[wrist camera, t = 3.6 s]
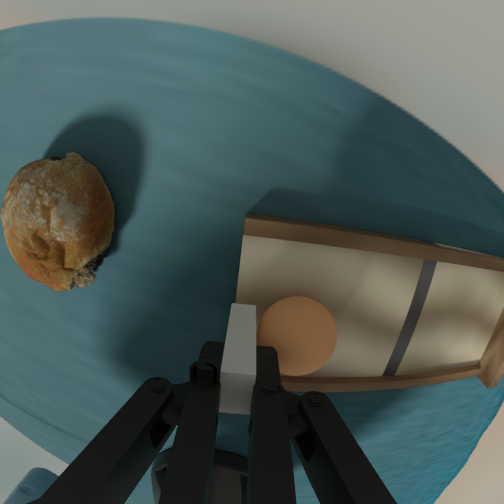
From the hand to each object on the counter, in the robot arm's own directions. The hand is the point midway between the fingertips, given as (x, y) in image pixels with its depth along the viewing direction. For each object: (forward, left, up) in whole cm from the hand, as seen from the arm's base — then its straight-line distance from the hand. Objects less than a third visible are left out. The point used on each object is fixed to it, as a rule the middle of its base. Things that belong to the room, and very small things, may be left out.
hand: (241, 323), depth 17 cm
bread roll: (+5, +15, -3) cm, 16 cm away
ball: (0, -3, -2) cm, 4 cm away
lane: (0, -14, -3) cm, 14 cm away
